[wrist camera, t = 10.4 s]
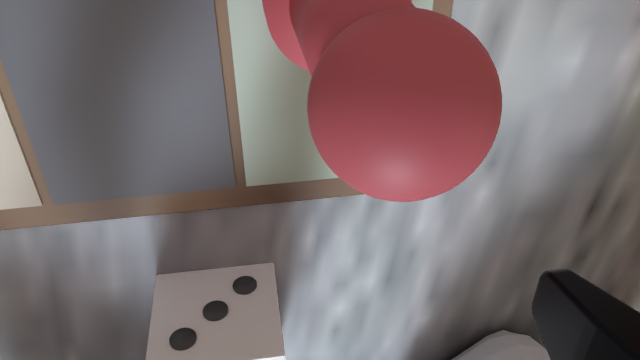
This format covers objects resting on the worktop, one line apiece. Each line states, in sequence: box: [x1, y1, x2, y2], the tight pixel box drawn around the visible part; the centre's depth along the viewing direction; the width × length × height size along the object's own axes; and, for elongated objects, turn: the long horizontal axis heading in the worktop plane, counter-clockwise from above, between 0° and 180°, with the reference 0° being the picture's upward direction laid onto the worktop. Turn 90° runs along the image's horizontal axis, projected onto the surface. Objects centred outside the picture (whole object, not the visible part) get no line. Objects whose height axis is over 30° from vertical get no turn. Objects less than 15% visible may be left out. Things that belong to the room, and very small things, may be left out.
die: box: [146, 262, 285, 360], centre depth 23 cm, size 5×5×5 cm
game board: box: [0, 0, 453, 230], centre depth 16 cm, size 22×16×1 cm
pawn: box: [262, 0, 502, 202], centre depth 13 cm, size 4×4×10 cm
